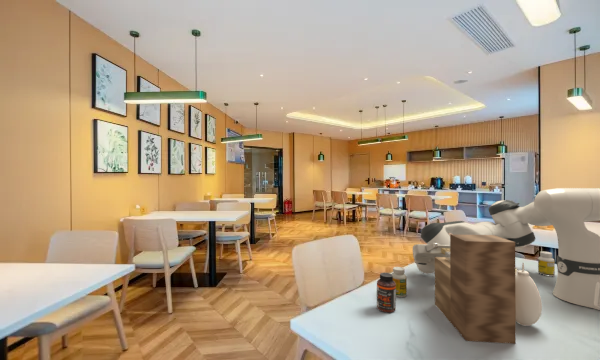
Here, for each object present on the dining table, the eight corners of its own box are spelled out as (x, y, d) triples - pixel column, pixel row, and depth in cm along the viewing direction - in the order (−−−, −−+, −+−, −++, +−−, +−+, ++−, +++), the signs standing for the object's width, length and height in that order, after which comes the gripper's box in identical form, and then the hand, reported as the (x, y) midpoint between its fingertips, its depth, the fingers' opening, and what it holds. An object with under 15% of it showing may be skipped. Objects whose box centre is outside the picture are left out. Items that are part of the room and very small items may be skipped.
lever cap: (455, 252, 97) (455, 245, 97) (479, 266, 81) (479, 258, 81) (435, 252, 97) (435, 245, 97) (455, 265, 82) (455, 257, 82)
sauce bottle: (500, 317, 83) (499, 258, 83) (526, 317, 82) (526, 258, 83) (520, 331, 75) (519, 266, 75) (549, 332, 75) (548, 266, 75)
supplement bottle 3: (535, 272, 123) (534, 250, 123) (548, 272, 122) (548, 251, 122) (544, 276, 118) (543, 254, 118) (558, 277, 117) (557, 254, 117)
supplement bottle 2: (397, 290, 103) (397, 265, 103) (409, 295, 99) (409, 269, 99) (388, 293, 100) (388, 267, 100) (400, 298, 96) (400, 271, 96)
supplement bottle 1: (375, 311, 87) (375, 276, 87) (377, 303, 92) (377, 270, 92) (395, 314, 85) (395, 278, 85) (395, 306, 90) (395, 272, 90)
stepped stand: (472, 306, 90) (472, 227, 90) (515, 343, 69) (515, 242, 69) (434, 304, 92) (434, 227, 92) (466, 340, 71) (465, 241, 71)
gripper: (466, 265, 103) (484, 255, 91) (410, 263, 105) (421, 253, 93) (462, 248, 106) (479, 237, 94) (408, 247, 108) (418, 236, 96)
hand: (450, 245), depth 93 cm, fingers open, 8 cm apart
